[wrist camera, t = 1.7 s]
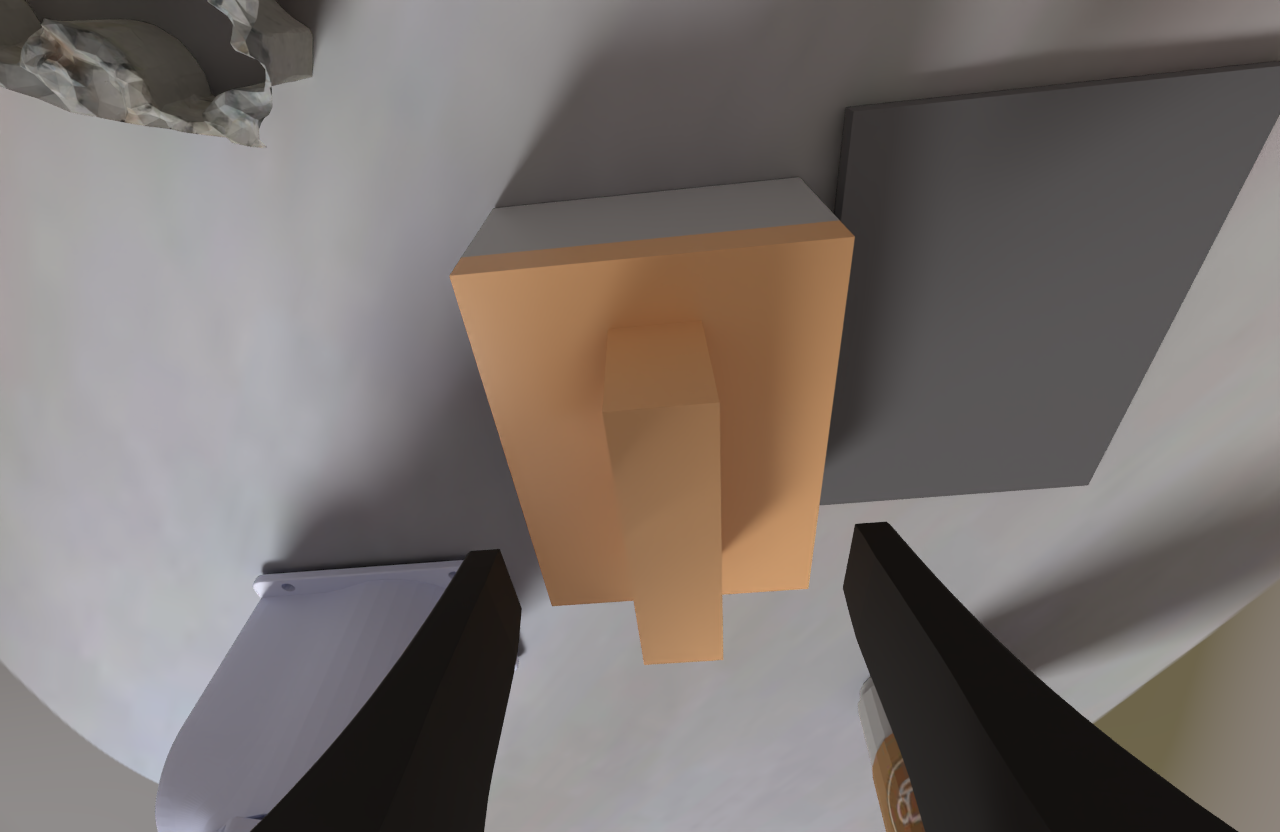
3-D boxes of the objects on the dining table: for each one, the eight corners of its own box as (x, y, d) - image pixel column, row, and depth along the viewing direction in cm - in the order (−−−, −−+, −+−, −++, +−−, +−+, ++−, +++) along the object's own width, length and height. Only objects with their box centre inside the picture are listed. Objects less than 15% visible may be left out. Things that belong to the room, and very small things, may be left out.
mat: (803, 494, 21) (808, 506, 21) (845, 107, 14) (853, 111, 13) (1077, 473, 21) (1088, 485, 20) (1281, 60, 13) (1306, 63, 13)
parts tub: (565, 503, 21) (555, 579, 19) (493, 208, 15) (461, 257, 12) (777, 487, 21) (800, 562, 18) (799, 176, 15) (839, 220, 12)
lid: (557, 560, 19) (539, 701, 15) (470, 244, 13) (400, 351, 9) (794, 543, 19) (836, 683, 15) (828, 209, 12) (918, 304, 9)
